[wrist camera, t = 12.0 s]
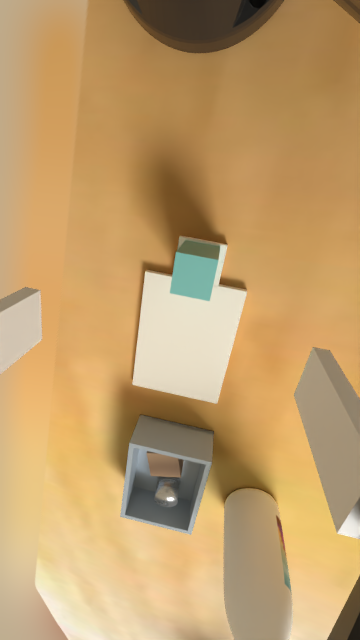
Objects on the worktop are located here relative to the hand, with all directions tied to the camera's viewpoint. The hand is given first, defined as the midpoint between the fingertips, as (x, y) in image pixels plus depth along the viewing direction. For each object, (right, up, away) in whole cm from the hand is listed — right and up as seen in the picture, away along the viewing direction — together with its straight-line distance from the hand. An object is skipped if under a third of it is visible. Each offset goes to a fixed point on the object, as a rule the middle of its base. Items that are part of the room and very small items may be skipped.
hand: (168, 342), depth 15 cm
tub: (-1, -19, +29) cm, 34 cm away
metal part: (-1, -22, +29) cm, 37 cm away
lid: (+1, +1, +20) cm, 20 cm away
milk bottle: (+11, -26, +30) cm, 41 cm away
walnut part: (-1, -16, +27) cm, 32 cm away
